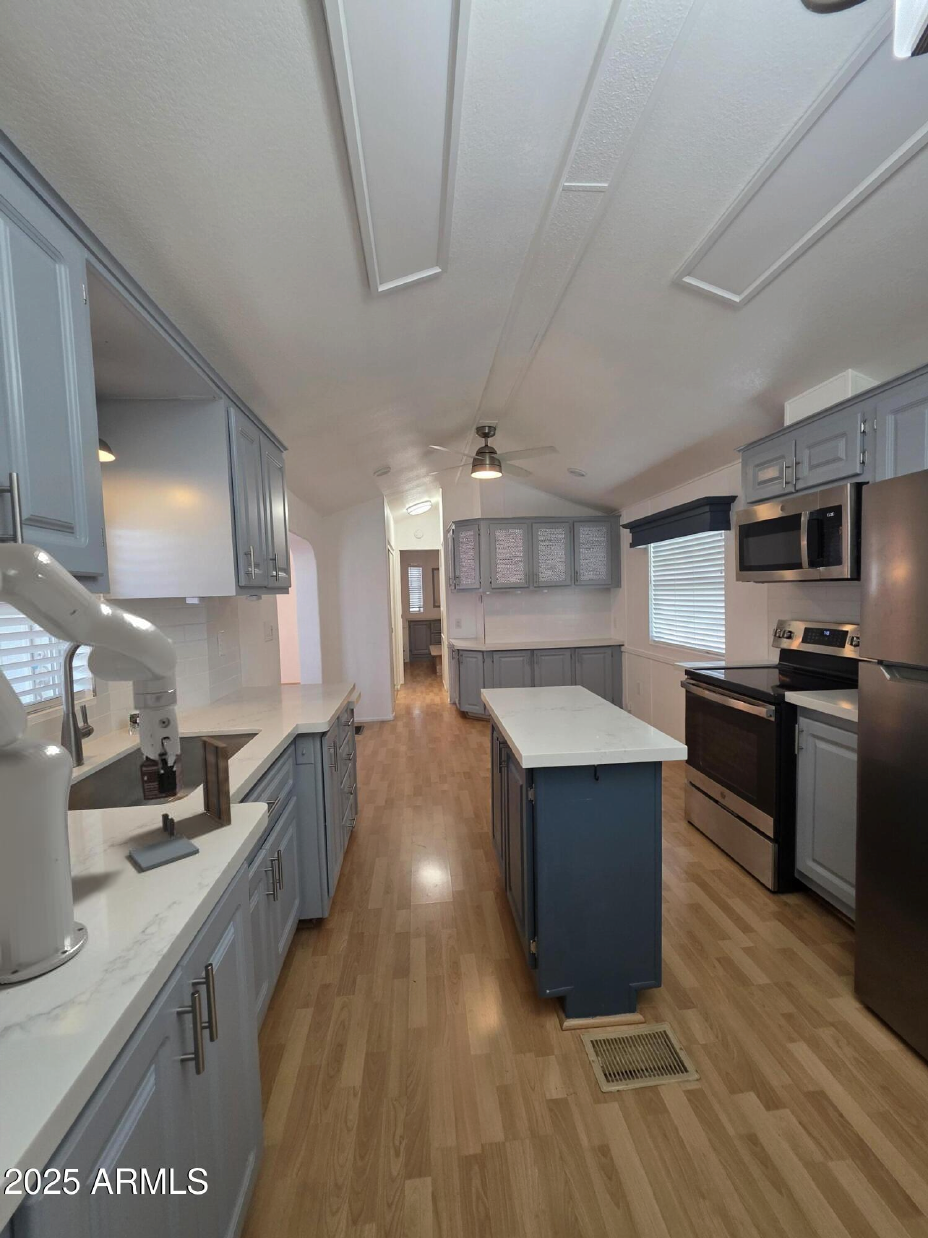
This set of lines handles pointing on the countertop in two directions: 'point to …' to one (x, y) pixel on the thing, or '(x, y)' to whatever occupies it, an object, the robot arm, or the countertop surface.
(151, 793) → the box
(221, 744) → the brown upright panel
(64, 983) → the countertop surface
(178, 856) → the mat
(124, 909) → the countertop surface
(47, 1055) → the countertop surface
